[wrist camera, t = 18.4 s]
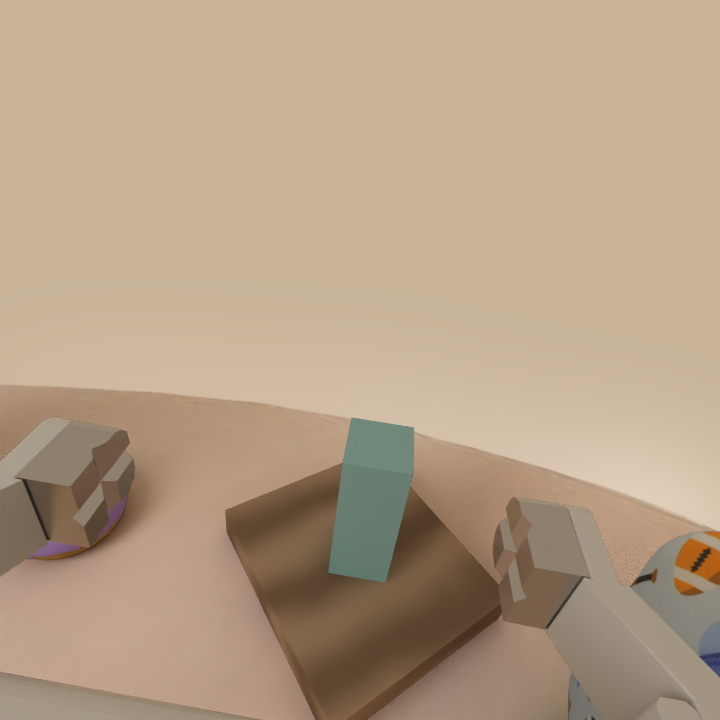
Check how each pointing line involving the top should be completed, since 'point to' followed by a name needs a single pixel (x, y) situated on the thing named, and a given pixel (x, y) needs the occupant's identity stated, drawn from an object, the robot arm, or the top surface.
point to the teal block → (371, 498)
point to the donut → (66, 550)
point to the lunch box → (676, 603)
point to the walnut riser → (358, 597)
